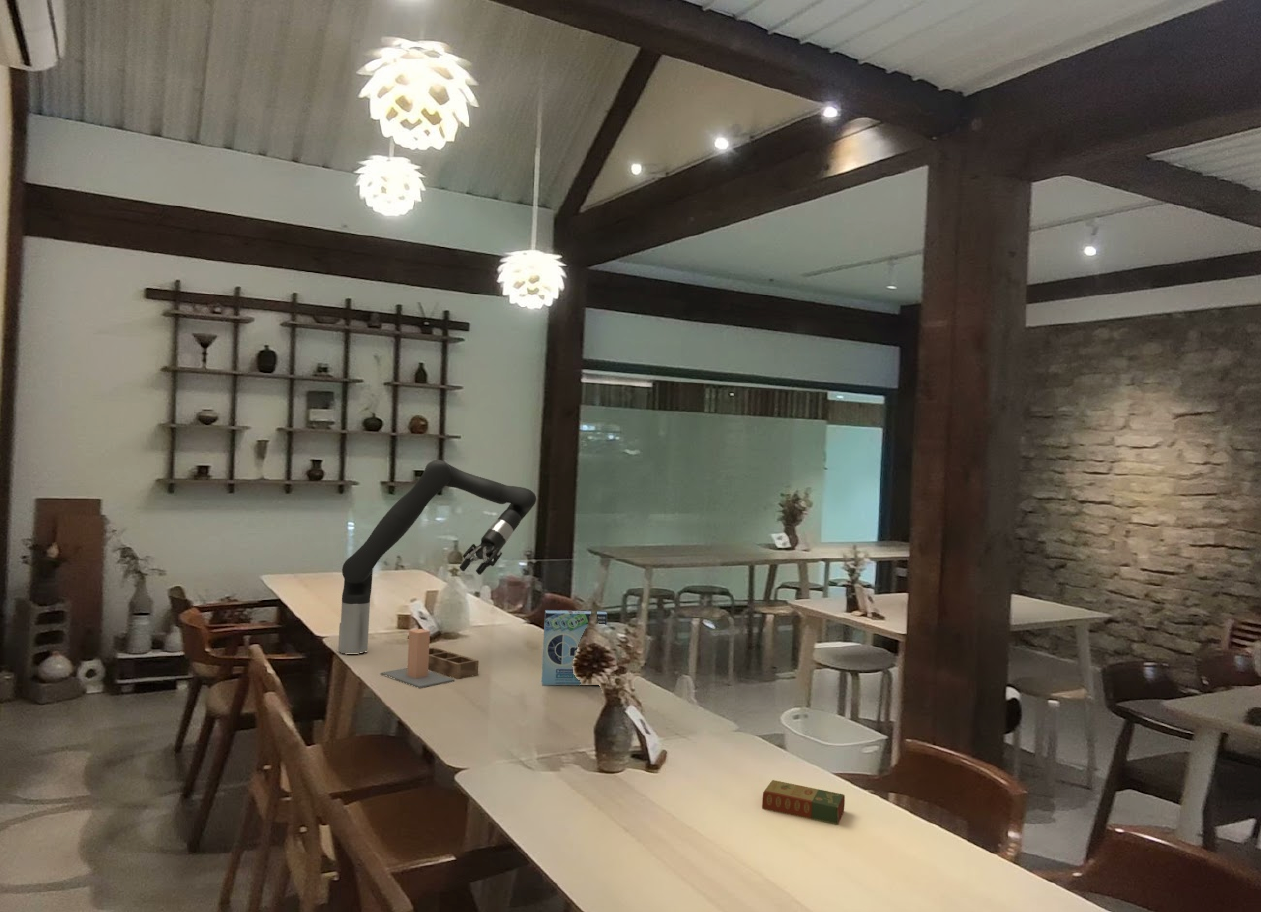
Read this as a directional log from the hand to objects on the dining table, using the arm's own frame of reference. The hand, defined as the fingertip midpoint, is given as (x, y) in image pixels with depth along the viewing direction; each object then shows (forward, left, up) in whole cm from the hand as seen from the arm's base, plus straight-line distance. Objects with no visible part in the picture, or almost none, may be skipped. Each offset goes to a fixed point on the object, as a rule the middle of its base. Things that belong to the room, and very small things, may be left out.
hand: (469, 571), depth 302 cm
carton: (+142, -24, -31) cm, 147 cm away
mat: (+6, -24, -31) cm, 39 cm away
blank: (+6, -24, -30) cm, 39 cm away
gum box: (+41, +9, -31) cm, 52 cm away
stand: (+3, -11, -31) cm, 33 cm away
